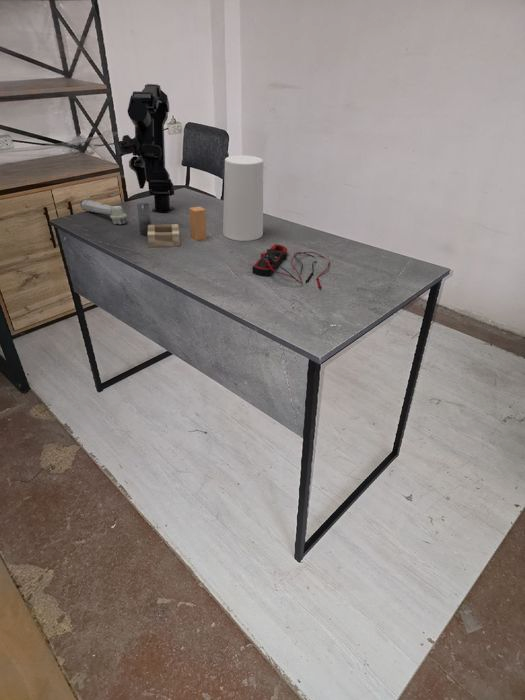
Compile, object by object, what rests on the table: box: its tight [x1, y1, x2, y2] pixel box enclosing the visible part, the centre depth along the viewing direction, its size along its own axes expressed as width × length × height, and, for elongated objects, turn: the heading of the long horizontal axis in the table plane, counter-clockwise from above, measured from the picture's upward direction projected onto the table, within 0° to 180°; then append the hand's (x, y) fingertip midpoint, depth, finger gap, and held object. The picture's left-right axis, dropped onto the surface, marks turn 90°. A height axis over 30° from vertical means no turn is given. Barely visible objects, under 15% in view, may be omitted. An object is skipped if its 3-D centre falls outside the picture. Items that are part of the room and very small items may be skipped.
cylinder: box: [222, 154, 264, 242], centre depth 157 cm, size 14×25×14 cm
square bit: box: [188, 206, 207, 241], centre depth 156 cm, size 4×4×10 cm
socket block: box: [147, 223, 181, 248], centre depth 154 cm, size 10×10×4 cm
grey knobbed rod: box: [80, 199, 128, 225], centre depth 172 cm, size 5×7×25 cm
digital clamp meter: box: [252, 244, 331, 292], centre depth 140 cm, size 23×4×25 cm
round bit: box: [136, 202, 152, 237], centre depth 157 cm, size 4×4×10 cm
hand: (144, 185), depth 147 cm, fingers open, 9 cm apart
